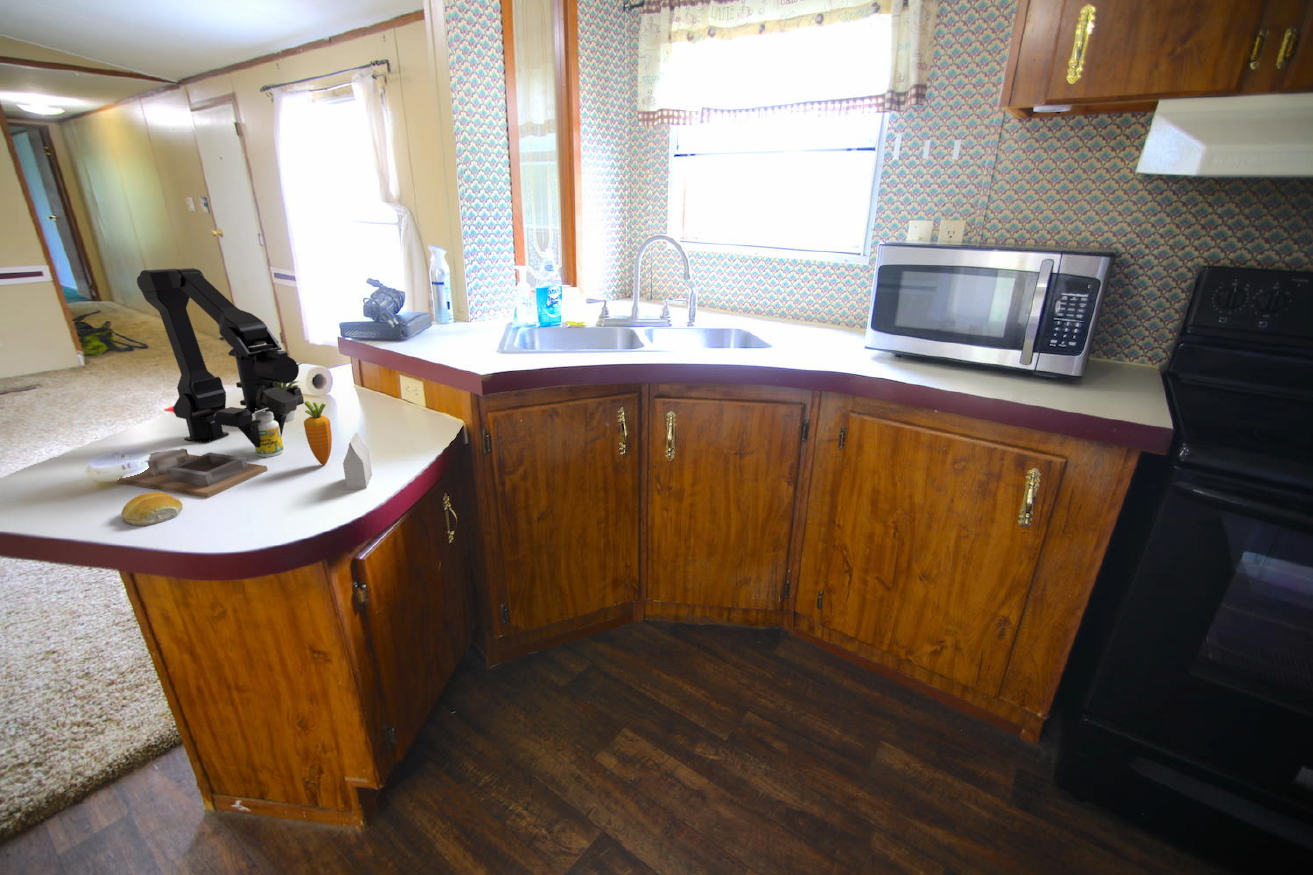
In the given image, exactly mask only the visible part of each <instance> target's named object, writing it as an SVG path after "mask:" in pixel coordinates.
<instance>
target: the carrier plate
mask: <svg viewBox="0 0 1313 875" xmlns="http://www.w3.org/2000/svg"><path fill="white" fill-rule="evenodd" d="M146 462H147V465H148V466H149V468H148V469H147V470H145V471H144V472H142V473H140V474H137V475H134V476H130V477H126V478H119V477H118V478H119V480H117V483H118V484H125V485H129V486H136V487H143V488H147V489H148V488H149V489H154V490H159V491H165V492H173V493H176V494H177V493H179V494H184V495H190V496H197V497H201V498H208V499H209V498H210V497H213V496H215V495H217V494H219V493H221V492H224V491H226V490H229V489H230V488H232V487H234V486H237V485H239V484H241V483H244V482H245V481H247V480H250V479H252V478H255V477H257V476H258V475H260V473H261V474H263V473H265V472H267V471H268V466H267V465H262V464H255V463H248V458H247V457H242V456H237V455H229V454H223V453H217V452H216V453H215V452H206V453H204V454H201V455H198V454H197V455H196V454H189V453H188V449H187V448H180V449H169V450H167V449H166V450H163V451H154V452H152V453H150V456H148V460H147V461H146ZM148 466H147V467H148ZM264 471H265V472H264ZM262 472H263V473H262Z"/></svg>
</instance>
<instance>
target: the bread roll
mask: <svg viewBox="0 0 1313 875" xmlns="http://www.w3.org/2000/svg"><path fill="white" fill-rule="evenodd" d="M183 505H184V504H183V503H182V501H181V500H179V499H178V498H175V497H174V496H173V495H171V494H170V493H169V494H168V493H167V492H162V491H154V492H153V491H152V492H151V491H150V492H147V493H146V492H145V493H142V494H140V495H137V496H134V497H133V498H132V499H130V500H129V501H128V502H127V503H126V504H125V505H124V506H123V508H122V510H121V518H122V520H123V521H124V522H126V523H128V524H130V525H133V526H140V527H141V526H142V527H143V526H150V525H151V526H152V525H155V524H159V523H164V522H166V521H169V520H171V519H174V518H175V517H177V516H178V515H179V514H180V513H181V511H182V510H183Z"/></svg>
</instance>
